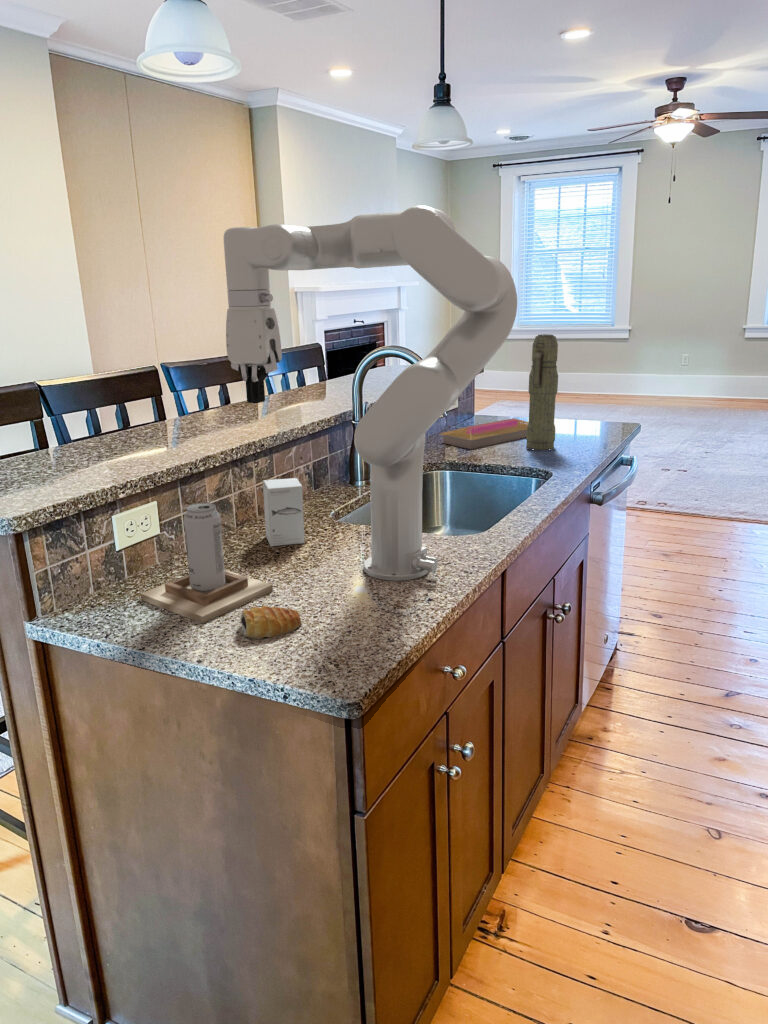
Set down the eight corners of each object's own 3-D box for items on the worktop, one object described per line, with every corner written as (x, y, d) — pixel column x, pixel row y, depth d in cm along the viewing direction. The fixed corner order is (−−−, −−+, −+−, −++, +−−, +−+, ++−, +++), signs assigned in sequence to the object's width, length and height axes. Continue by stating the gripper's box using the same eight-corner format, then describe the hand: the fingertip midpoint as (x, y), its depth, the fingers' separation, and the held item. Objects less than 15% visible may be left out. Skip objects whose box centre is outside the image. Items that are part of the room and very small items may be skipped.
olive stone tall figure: (520, 450, 238) (525, 336, 227) (531, 443, 248) (536, 333, 238) (548, 453, 234) (555, 336, 224) (558, 445, 244) (564, 333, 234)
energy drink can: (193, 582, 136) (186, 502, 131) (227, 581, 136) (221, 501, 131) (187, 596, 130) (179, 512, 125) (223, 595, 130) (216, 511, 126)
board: (272, 590, 135) (271, 576, 134) (202, 623, 123) (201, 608, 122) (212, 571, 144) (210, 558, 143) (141, 599, 132) (139, 585, 131)
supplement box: (269, 547, 156) (266, 488, 152) (265, 536, 163) (261, 479, 159) (305, 544, 158) (302, 485, 154) (299, 533, 165) (297, 476, 161)
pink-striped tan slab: (511, 430, 271) (511, 413, 269) (542, 436, 261) (543, 418, 259) (439, 444, 250) (439, 425, 249) (470, 451, 240) (470, 432, 238)
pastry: (294, 616, 125) (293, 594, 124) (306, 633, 119) (305, 611, 118) (238, 626, 122) (236, 604, 121) (247, 644, 116) (245, 621, 115)
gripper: (294, 300, 136) (299, 402, 141) (234, 299, 144) (241, 396, 149) (265, 301, 130) (272, 408, 135) (204, 301, 138) (213, 402, 144)
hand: (256, 402), depth 142 cm, fingers closed
